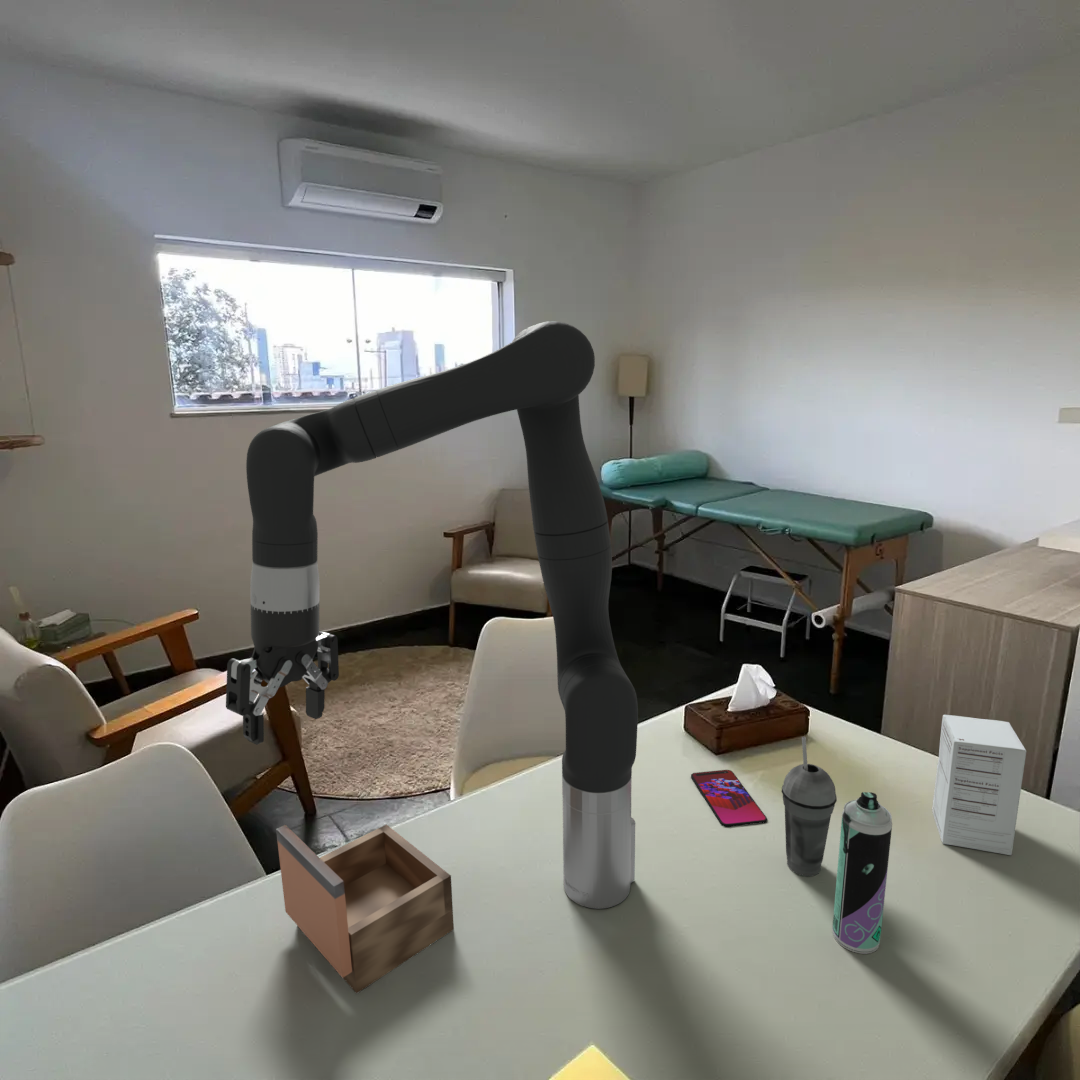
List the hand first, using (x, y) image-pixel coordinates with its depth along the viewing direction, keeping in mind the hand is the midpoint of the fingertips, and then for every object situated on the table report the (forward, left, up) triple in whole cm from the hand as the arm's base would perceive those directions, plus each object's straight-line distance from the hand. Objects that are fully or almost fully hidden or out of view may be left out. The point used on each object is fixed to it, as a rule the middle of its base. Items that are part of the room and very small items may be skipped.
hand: (285, 728), depth 88 cm
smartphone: (-63, +22, -29) cm, 73 cm away
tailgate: (+1, +6, -25) cm, 26 cm away
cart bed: (-6, +6, -28) cm, 30 cm away
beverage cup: (-56, +39, -29) cm, 74 cm away
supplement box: (-81, +53, -29) cm, 101 cm away
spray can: (-48, +50, -29) cm, 75 cm away
